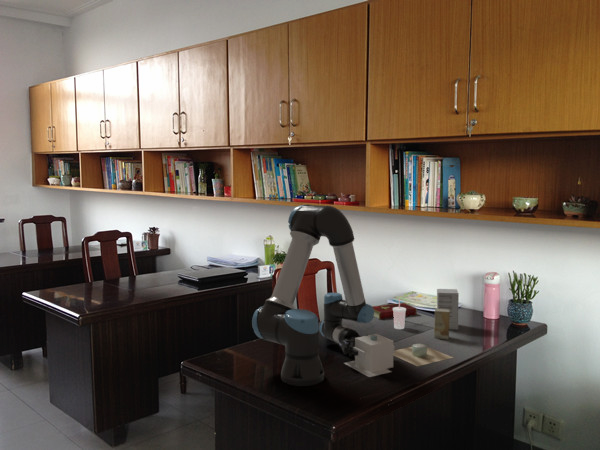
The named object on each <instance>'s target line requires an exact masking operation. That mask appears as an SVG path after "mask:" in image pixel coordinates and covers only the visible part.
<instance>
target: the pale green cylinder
mask: <svg viewBox="0 0 600 450" xmlns="http://www.w3.org/2000/svg"><path fill="white" fill-rule="evenodd" d="M411 347H412V355H413V356H415V357H426V356H427V347H428V346H427V345H426V344H423V343H414V344H412V346H411Z"/></svg>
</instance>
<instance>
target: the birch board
mask: <svg viewBox="0 0 600 450" xmlns="http://www.w3.org/2000/svg"><path fill="white" fill-rule="evenodd" d="M393 357H396V358H398V359H401V360H403V361H405V362H407V363H409V364H411V365H413V366H415V367H421V366H424V365H429V364H433V363H436V362H441V361H445V360H446V361H447V360H449V359H454V357H453V356H450V355H448V354H445V353H443V352H441V351H438V350H436V349H434V348H431V347H429V346H427V356H426V357H415V356H413V355H412V346H409V347H404V348H400V349H395V353H393Z"/></svg>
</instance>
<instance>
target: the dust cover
mask: <svg viewBox="0 0 600 450" xmlns="http://www.w3.org/2000/svg"><path fill="white" fill-rule="evenodd" d="M367 335H368V336H366V335H364V336H362V335H361V336H362V337H357V338H355V347H356V348H358V349H360V350H362V351H364V352H365V359H364V360H363V359H361V358H359V357H357V356H355V355H354V361H355V364H356V365H358V366H359V367H361V368H363V369H365V370H367V371H369V372H371V373H372V372H376V371H380V370H385V369H391V368H394V355H393V345H394V340H393V339H390V338H388V337H385V336H382V335H380V334H378V333H374V334H367Z"/></svg>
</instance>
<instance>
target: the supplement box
mask: <svg viewBox="0 0 600 450" xmlns="http://www.w3.org/2000/svg"><path fill="white" fill-rule="evenodd" d="M459 295H460V294H459V292H458V289H457V288H436V309H448V310H450V317H449V330H459Z"/></svg>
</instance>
